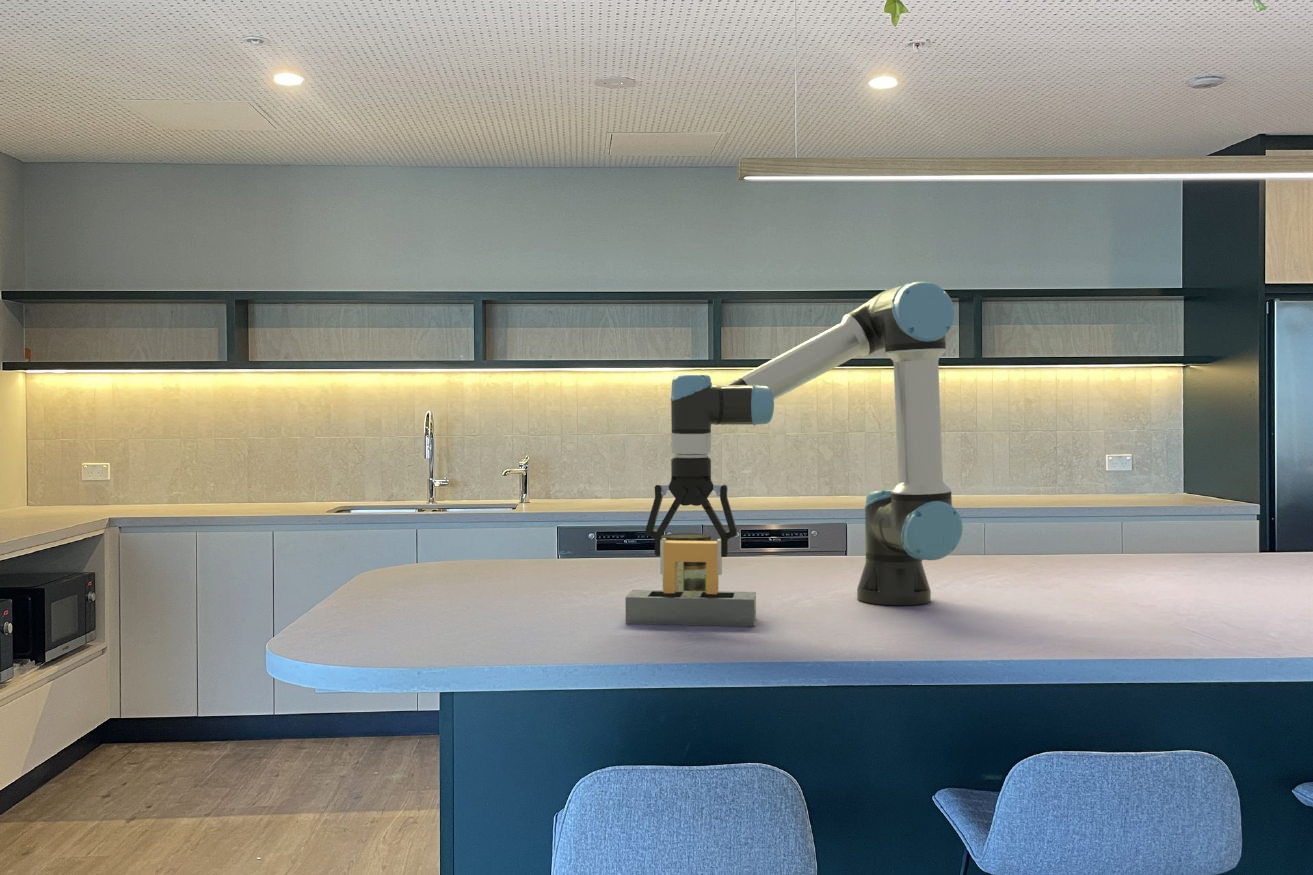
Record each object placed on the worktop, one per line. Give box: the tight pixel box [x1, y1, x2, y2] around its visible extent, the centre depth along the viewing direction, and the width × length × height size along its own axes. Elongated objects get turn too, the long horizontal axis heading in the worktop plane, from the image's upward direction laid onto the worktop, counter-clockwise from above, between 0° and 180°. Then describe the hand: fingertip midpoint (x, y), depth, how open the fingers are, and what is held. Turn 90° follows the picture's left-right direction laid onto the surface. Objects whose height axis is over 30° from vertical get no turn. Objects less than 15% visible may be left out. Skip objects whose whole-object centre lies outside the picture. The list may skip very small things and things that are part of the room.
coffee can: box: [661, 532, 712, 591], centre depth 223 cm, size 10×10×14 cm
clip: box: [664, 540, 719, 594], centre depth 203 cm, size 10×4×10 cm, turn 82°
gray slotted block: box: [624, 589, 757, 628], centre depth 203 cm, size 24×8×5 cm, turn 83°
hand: (691, 573), depth 203 cm, fingers closed on clip, 10 cm apart
